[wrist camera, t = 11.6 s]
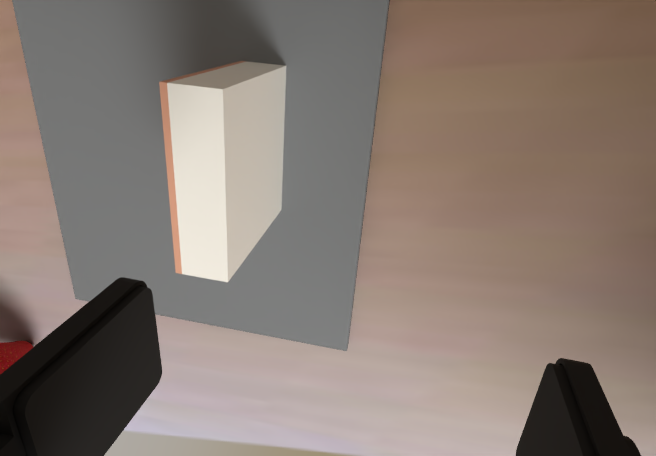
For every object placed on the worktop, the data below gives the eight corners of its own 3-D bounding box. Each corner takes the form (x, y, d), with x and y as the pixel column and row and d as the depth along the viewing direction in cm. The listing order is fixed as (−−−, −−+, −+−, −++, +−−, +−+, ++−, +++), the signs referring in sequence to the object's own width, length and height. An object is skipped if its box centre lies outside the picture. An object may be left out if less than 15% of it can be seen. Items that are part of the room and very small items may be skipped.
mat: (406, -138, 19) (405, -143, 18) (348, 345, 30) (346, 351, 30) (-11, -153, 22) (-22, -157, 21) (81, 294, 33) (75, 298, 33)
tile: (286, 65, 23) (223, 89, 16) (281, 209, 26) (228, 282, 19) (241, 60, 23) (159, 81, 16) (242, 203, 27) (175, 273, 20)
